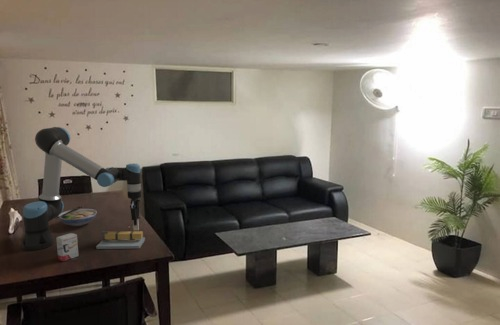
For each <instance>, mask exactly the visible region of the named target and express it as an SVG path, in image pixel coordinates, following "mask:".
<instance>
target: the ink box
mask: <svg viewBox="0 0 500 325" xmlns="http://www.w3.org/2000/svg"><path fill="white" fill-rule="evenodd" d="M55 240H56V248H57V251H56V252H57V260H58V261H61V262H65V261H69V260H72V259H74V258H77V257H79V246H78V245H79V244H78V234H76V233H73V232H70V233H65V234H63V235H60V236H59V235H58V236H57V237H56V238H55Z"/></svg>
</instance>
